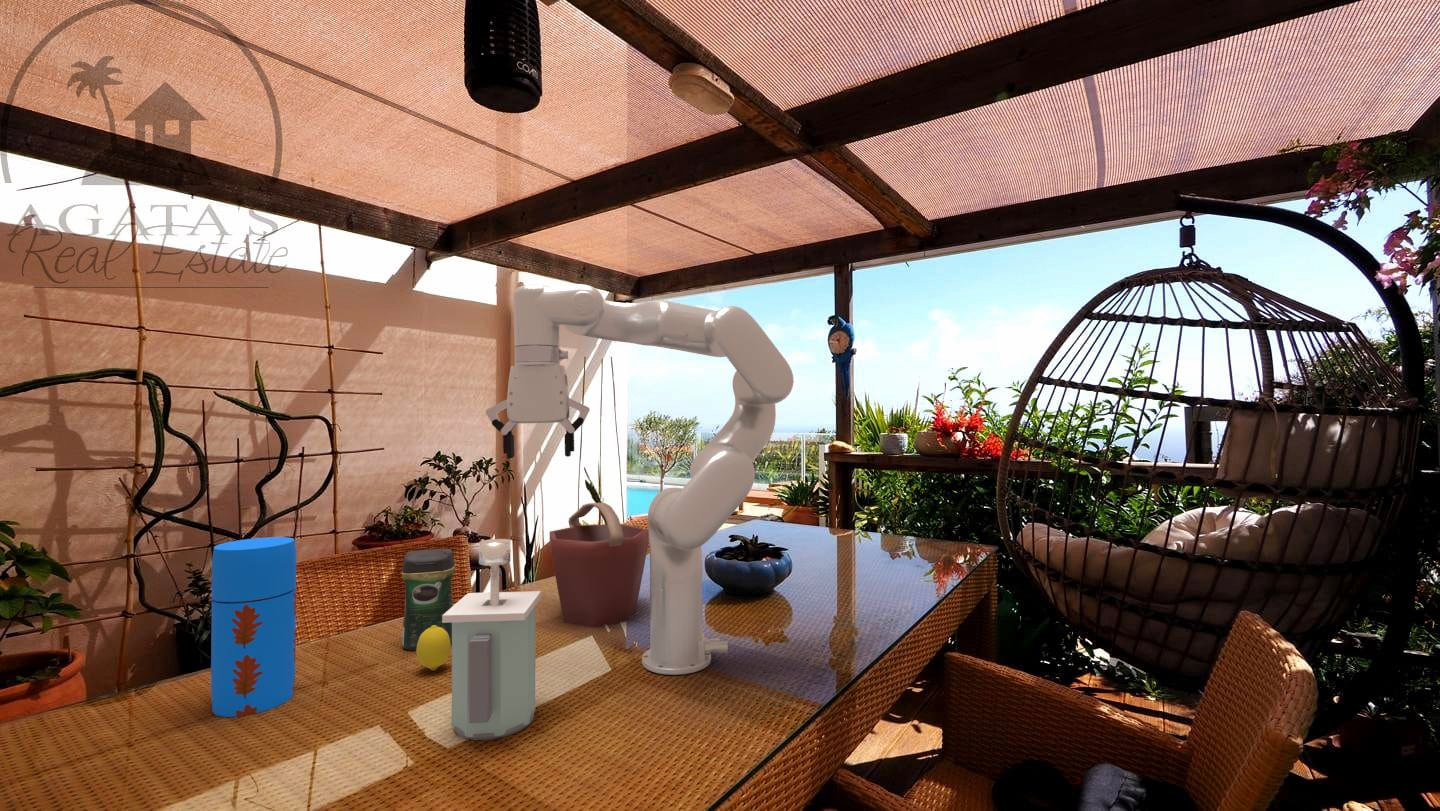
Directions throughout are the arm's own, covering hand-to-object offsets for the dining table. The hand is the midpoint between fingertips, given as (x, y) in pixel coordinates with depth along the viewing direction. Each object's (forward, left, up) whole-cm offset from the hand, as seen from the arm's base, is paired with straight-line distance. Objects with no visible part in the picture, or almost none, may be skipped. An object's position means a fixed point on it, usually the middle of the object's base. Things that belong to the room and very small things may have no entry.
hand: (539, 457), depth 109 cm
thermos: (+43, +5, -38) cm, 58 cm away
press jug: (+4, +16, -38) cm, 41 cm away
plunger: (+3, +15, -36) cm, 39 cm away
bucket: (-7, -35, -38) cm, 52 cm away
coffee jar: (+26, -19, -38) cm, 50 cm away
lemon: (+19, -5, -38) cm, 43 cm away
